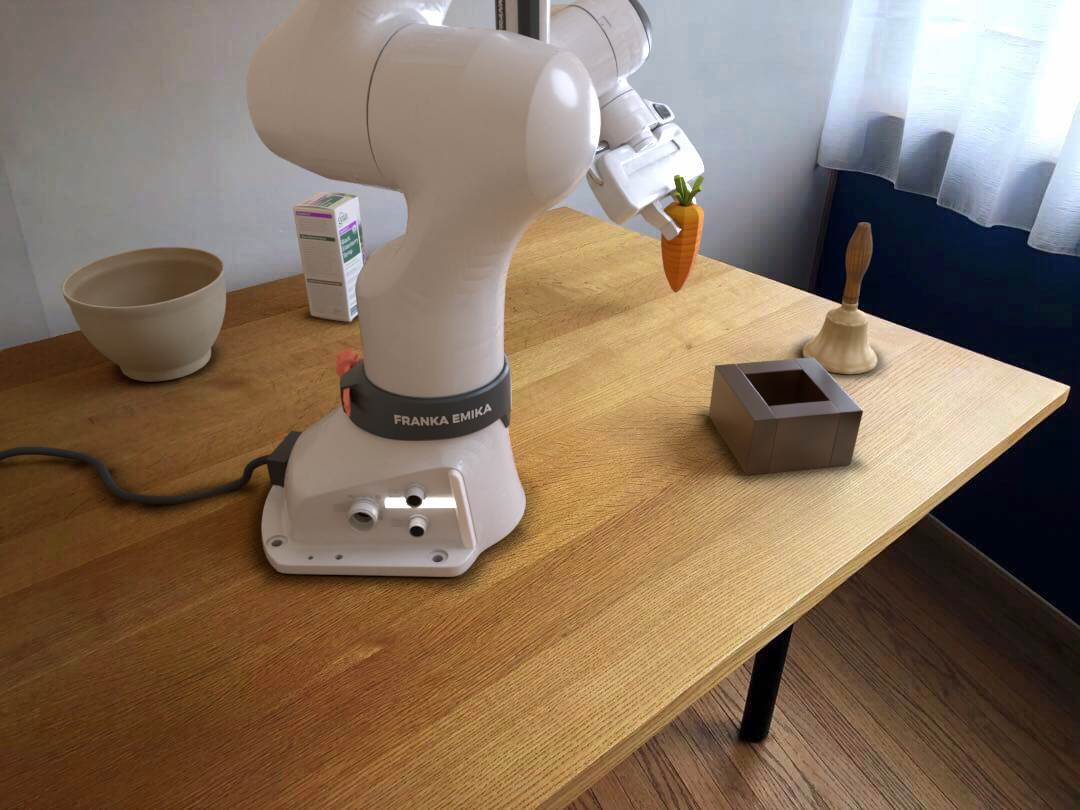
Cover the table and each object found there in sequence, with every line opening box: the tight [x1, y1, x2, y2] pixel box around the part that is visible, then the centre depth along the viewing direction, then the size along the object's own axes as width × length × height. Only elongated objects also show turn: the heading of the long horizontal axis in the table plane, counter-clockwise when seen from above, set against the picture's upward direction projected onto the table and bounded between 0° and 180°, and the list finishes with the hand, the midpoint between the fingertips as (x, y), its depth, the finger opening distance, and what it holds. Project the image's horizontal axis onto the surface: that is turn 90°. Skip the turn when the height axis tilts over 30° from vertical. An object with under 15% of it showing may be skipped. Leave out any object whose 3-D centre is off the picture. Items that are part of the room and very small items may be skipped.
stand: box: [708, 357, 864, 476], centre depth 83 cm, size 10×10×6 cm
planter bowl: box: [61, 246, 227, 383], centre depth 95 cm, size 16×16×11 cm
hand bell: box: [802, 221, 878, 375], centre depth 95 cm, size 8×8×16 cm
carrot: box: [660, 174, 705, 294], centre depth 104 cm, size 5×5×15 cm
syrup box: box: [292, 191, 367, 323], centre depth 106 cm, size 6×6×14 cm
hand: (686, 228), depth 103 cm, fingers closed on carrot, 4 cm apart
